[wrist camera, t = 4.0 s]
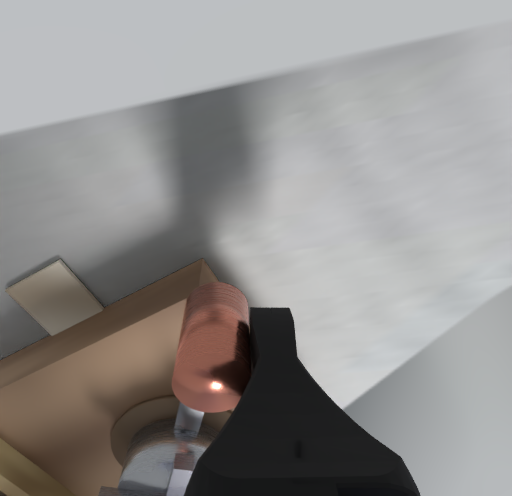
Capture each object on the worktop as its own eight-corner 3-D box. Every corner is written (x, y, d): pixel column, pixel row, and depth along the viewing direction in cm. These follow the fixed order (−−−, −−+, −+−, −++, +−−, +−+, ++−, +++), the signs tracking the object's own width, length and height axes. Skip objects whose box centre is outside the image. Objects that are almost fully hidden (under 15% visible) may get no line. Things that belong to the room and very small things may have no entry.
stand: (304, 403, 21) (317, 472, 18) (34, 512, 24) (4, 587, 21) (164, 202, 16) (145, 248, 12) (-161, 379, 19) (-244, 452, 16)
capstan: (227, 496, 20) (225, 584, 16) (108, 484, 19) (83, 573, 16) (301, 297, 14) (320, 371, 11) (139, 266, 13) (111, 337, 10)
